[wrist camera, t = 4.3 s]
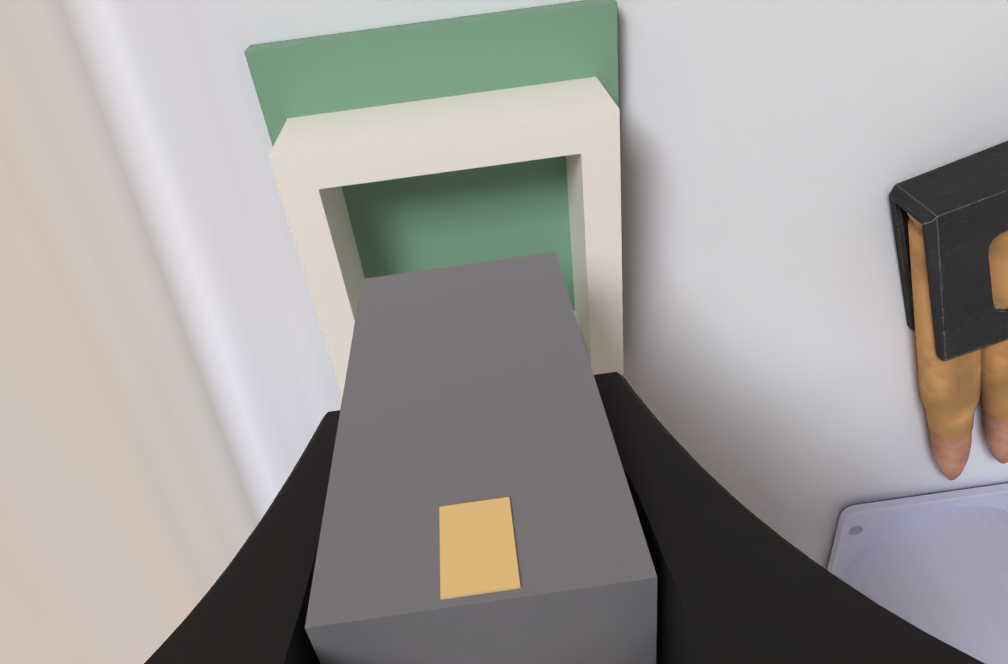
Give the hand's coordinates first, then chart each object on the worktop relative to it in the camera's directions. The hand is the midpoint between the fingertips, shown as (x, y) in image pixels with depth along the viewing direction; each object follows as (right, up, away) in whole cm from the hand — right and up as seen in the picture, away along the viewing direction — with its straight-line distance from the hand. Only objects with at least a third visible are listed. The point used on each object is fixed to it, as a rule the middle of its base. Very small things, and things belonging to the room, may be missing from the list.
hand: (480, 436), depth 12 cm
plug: (0, +1, +2) cm, 2 cm away
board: (-1, +4, +7) cm, 8 cm away
